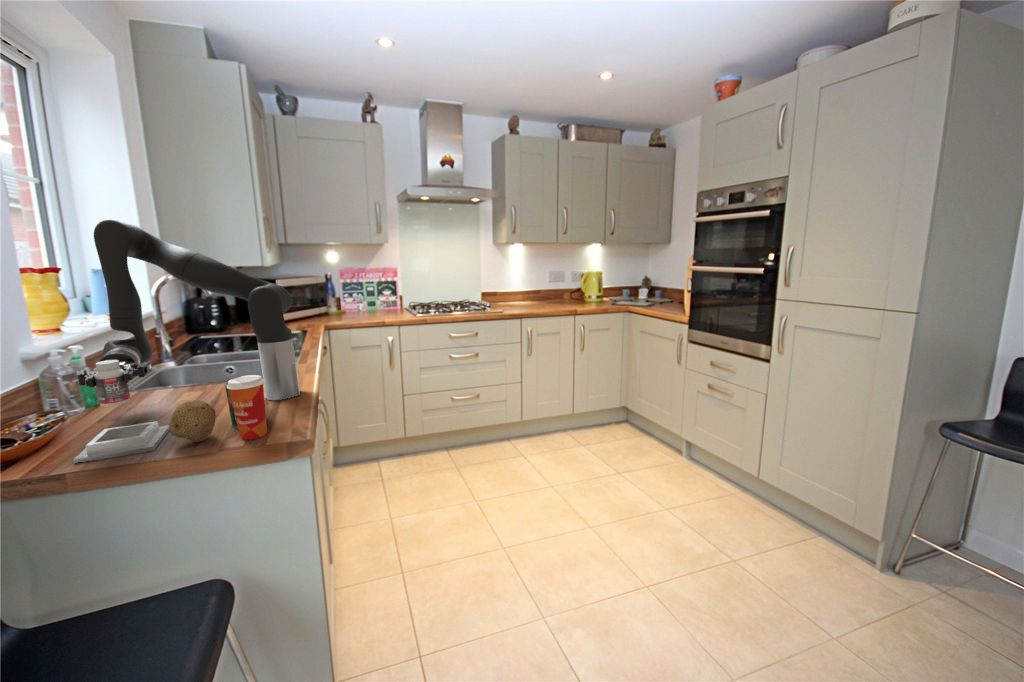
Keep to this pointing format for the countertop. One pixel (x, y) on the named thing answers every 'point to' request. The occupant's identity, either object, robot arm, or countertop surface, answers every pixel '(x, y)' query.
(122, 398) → the pill bottle
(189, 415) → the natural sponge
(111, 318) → the robot arm
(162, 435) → the duct collar
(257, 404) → the paper cup
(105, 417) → the countertop surface
